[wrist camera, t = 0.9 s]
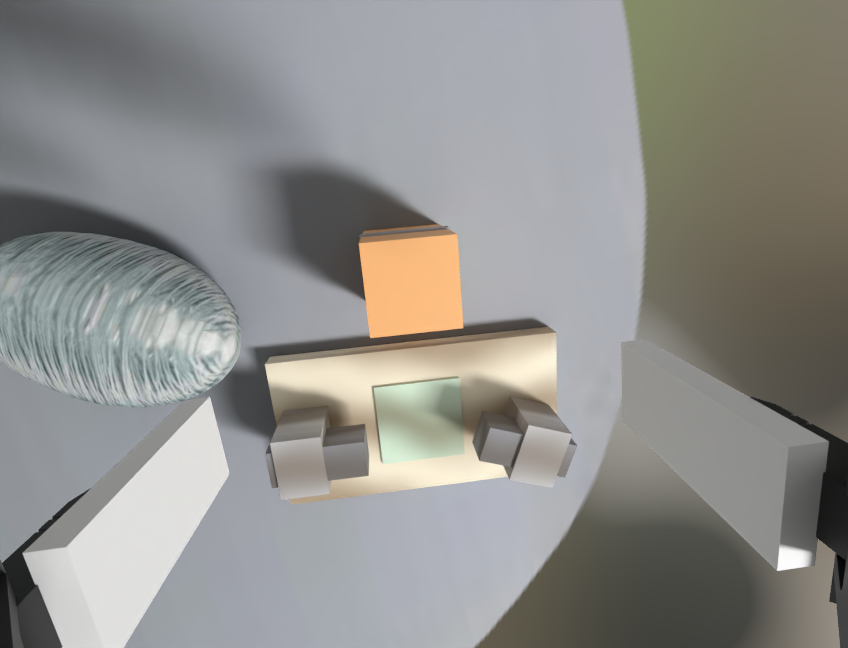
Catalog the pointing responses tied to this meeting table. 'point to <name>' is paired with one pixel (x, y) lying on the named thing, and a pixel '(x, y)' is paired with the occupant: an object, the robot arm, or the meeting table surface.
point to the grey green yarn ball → (113, 320)
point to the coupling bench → (417, 416)
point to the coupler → (411, 280)
